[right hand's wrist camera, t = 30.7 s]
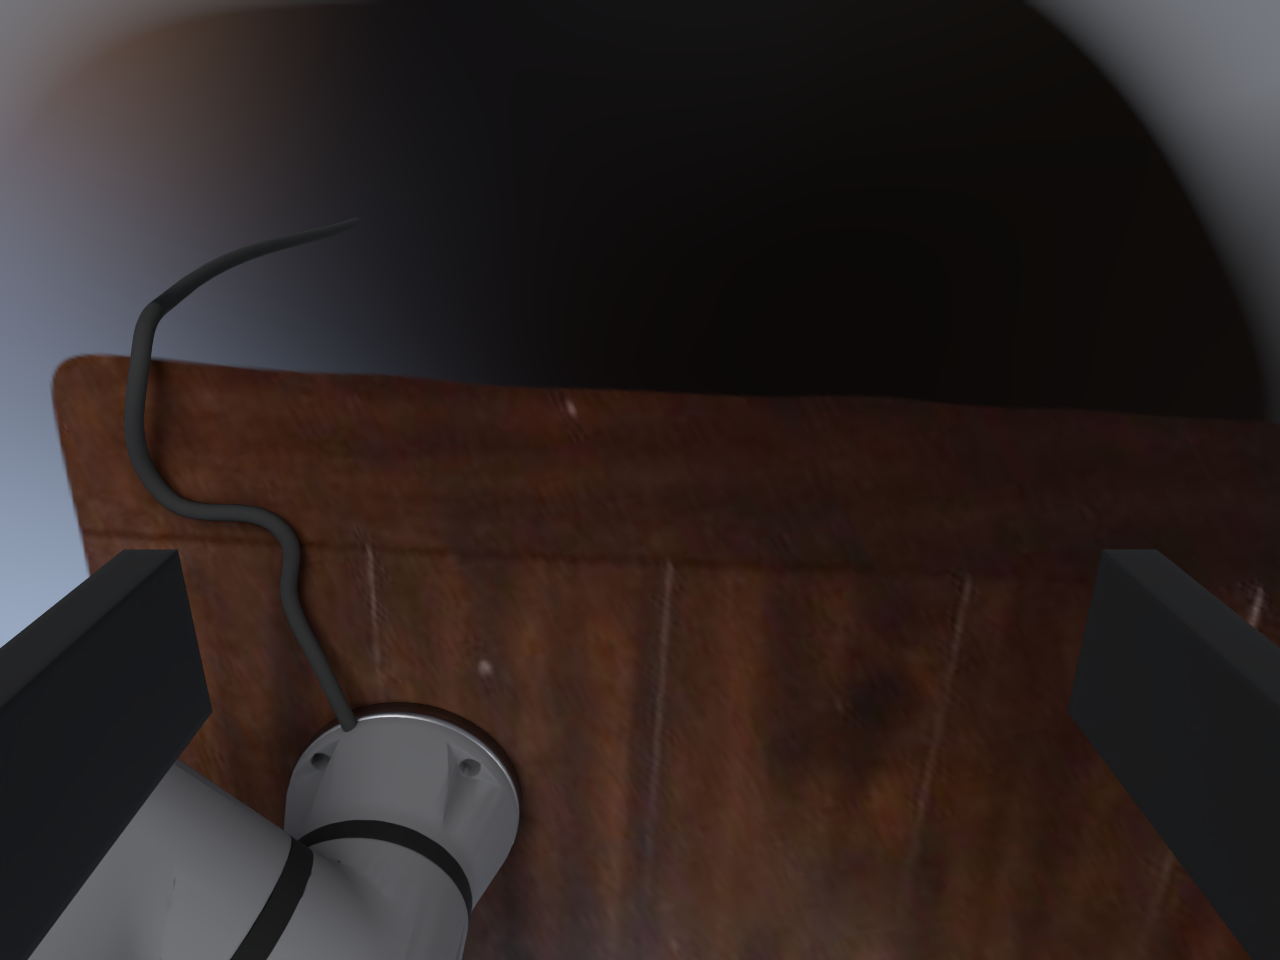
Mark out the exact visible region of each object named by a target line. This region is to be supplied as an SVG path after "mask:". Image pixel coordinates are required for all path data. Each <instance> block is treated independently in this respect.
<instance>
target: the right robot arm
mask: <svg viewBox="0 0 1280 960" xmlns="http://www.w3.org/2000/svg"><path fill="white" fill-rule="evenodd" d="M361 224H362V222H361V220H360V219H359V218H352V219H349V220H346V221H343V222H340V223H336V224H333V225H329V226H325V227H321V228H317V229H312V230H308V231H303V232H299V233H294V234H290V235H285V236H281V237H277V238H273V239H269V240H265V241H262V242H258V243H255V244H252V245H249V246H245V247H242V248H240V249H237V250H235V251H232V252H229V253H227V254H224V255H222V256H220V257H218V258H216V259H214V260H212V261H210V262H208V263H206V264H204V265H203V266H201V267H199V268H198V269H196V270H194V271H193V272H191V273H189V274H188V275H186V276H185V277H183V278H182V279H180V280H179V281H178V282H177V283H175V284H174V285H173V286H171V287H170V288H169V289H167V290H166V291H165V292H163V293H162V294H161V295H160V296H158V297H157V298H155V299H154V300H153V301H152V302H150V303H149V304H148V305H147V306H146V307H145V308H144V309H143V311H142V312H141V314H140V316H139V318H138V321H137V324H136V327H135V331H134V336H133V343H132V350H131V358H130V366H129V373H128V381H127V388H126V397H125V410H124V431H125V441H126V446H127V450H128V454H129V457H130V460H131V463H132V465H133V467H134V469H135V471H136V473H137V475H138V477H139V478H140V480H141V481H142V483H143V484H144V486H145V487H146V489H147V490H148V491H149V492H150V493H151V495H152V496H153V497H154V498H155V499H156V500H157V501H158V502H159V503H160V504H161V505H163V506H164V507H165V508H166V509H168V510H170V511H172V512H174V513H175V514H177V515H181V516H184V517H187V518H192V519H198V520H210V521H241V522H248V523H253V524H256V525H259V526H262V527H263V528H265V529H267V530H269V531H270V532H271V533H272V534H273V535H274V536H275V537H276V538H277V539H278V541H279V542H280V544H281V547H282V550H283V565H282V572H281V580H280V594H281V601H282V605H283V608H284V611H285V614H286V617H287V619H288V622H289V624H290V626H291V628H292V630H293V633H294V635H295V636H296V638H297V640H298V642H299V644H300V646H301V648H302V649H303V651H304V653H305V655H306V657H307V659H308V661H309V662H310V664H311V666H312V668H313V670H314V672H315V674H316V676H317V678H318V680H319V683H320V685H321V687H322V689H323V691H324V693H325V695H326V697H327V699H328V701H329V703H330V705H331V707H332V709H333V711H334V713H335V715H336V717H337V718H336V719H334V720H333V721H331V722H329V723H328V724H327V725H326V726H324V727H323V728H322V729H321V730H320V731H319V732H318V733H317V734H316V735H315V736H314V737H313V738H312V739H311V741H310V742H309V743H308V745H307V747H306V748H305V750H304V752H303V753H302V755H301V757H300V759H299V761H298V763H297V765H296V767H295V769H294V771H293V773H292V776H291V779H290V784H289V787H288V792H287V797H286V808H285V821H284V830H282V829H281V828H279V827H278V826H276V825H275V824H273V823H272V822H270V821H269V820H267V819H266V818H265V817H263V816H262V815H260V814H259V813H257V812H256V811H254V810H253V809H251V808H250V807H248V806H247V805H245V804H244V803H242V802H241V801H239V800H238V799H237V798H235V797H234V796H232V795H231V794H229V793H228V792H226V791H225V790H223V789H222V788H220V787H219V786H217V785H216V784H214V783H213V782H212V781H210V780H209V779H207V778H206V777H204V776H203V775H201V774H200V773H198V772H197V771H195V770H194V769H192V768H191V767H189V766H188V765H187V764H185V763H184V762H182V761H181V760H179V759H178V757H179V756H180V754H181V753H182V752H183V750H184V749H185V748H186V746H187V745H188V744H189V742H190V741H191V740H192V738H193V737H194V736H195V734H196V733H197V732H198V730H199V729H200V728H201V726H202V725H203V724H204V722H205V721H206V720H207V718H208V717H209V715H210V714H211V713H212V707H211V703H210V698H209V693H208V689H207V684H206V680H205V675H204V670H203V666H202V661H201V656H200V652H199V647H198V642H197V638H196V633H195V628H194V624H193V619H192V614H191V610H190V605H189V600H188V596H187V591H186V586H185V582H184V577H183V572H182V568H181V563H180V558H179V554H178V550H123V551H121V552H120V553H119V554H118V555H116V556H115V557H114V558H113V559H111V560H110V561H109V562H108V563H106V564H105V565H104V566H103V567H101V568H100V569H99V570H98V571H96V572H95V573H94V574H93V575H91V576H90V577H89V578H88V579H86V580H85V581H84V582H83V583H81V584H80V585H79V586H78V587H76V588H75V589H74V590H73V591H71V592H70V593H69V594H68V595H66V596H65V597H64V598H63V599H61V600H60V601H59V602H58V603H56V604H55V605H54V606H53V607H51V608H50V609H49V610H48V611H46V612H45V613H44V614H43V615H41V616H40V617H39V618H38V619H36V620H35V621H34V622H33V623H31V624H30V625H29V626H28V627H26V628H25V629H24V630H23V631H21V632H20V633H19V634H18V635H16V636H15V637H14V638H13V639H11V640H10V641H9V642H8V643H6V644H5V645H4V646H2V647H1V648H0V960H462V955H463V950H464V946H465V941H466V936H467V931H468V926H469V922H470V917H471V913H472V910H473V908H474V907H475V905H476V904H477V902H478V901H479V899H480V898H481V896H482V895H483V893H484V892H485V890H486V889H487V887H488V886H489V884H490V883H491V881H492V879H493V878H494V876H495V875H496V873H497V872H498V870H499V869H500V867H501V866H502V864H503V863H504V861H505V860H506V858H507V856H508V854H509V852H510V849H511V847H512V845H513V843H514V840H515V837H516V834H517V829H518V824H519V818H520V812H521V802H522V800H521V789H520V784H519V780H518V777H517V774H516V772H515V770H514V767H513V765H512V763H511V762H510V760H509V758H508V757H507V755H506V754H505V753H504V751H503V750H502V749H501V747H500V746H499V745H498V744H497V743H496V742H495V741H494V740H493V739H492V738H491V737H490V736H489V735H488V734H487V733H485V732H484V731H483V730H481V729H480V728H479V727H477V726H476V725H474V724H473V723H471V722H469V721H467V720H466V719H464V718H462V717H460V716H458V715H455V714H453V713H451V712H448V711H445V710H442V709H439V708H435V707H431V706H427V705H421V704H415V703H380V704H375V705H369V706H365V707H361V708H358V709H355V710H353V711H352V709H351V707H350V705H349V703H348V701H347V699H346V697H345V695H344V693H343V691H342V689H341V687H340V685H339V683H338V681H337V679H336V677H335V675H334V672H333V670H332V668H331V666H330V664H329V662H328V660H327V658H326V656H325V654H324V652H323V650H322V649H321V647H320V645H319V643H318V641H317V639H316V637H315V636H314V634H313V632H312V630H311V628H310V626H309V624H308V622H307V620H306V618H305V615H304V613H303V610H302V607H301V605H300V602H299V598H298V594H297V579H298V572H299V565H300V546H299V542H298V539H297V537H296V535H295V533H294V531H293V530H292V529H291V527H290V526H289V525H288V524H287V523H286V522H285V521H284V520H282V519H281V518H280V517H279V516H277V515H275V514H274V513H272V512H270V511H268V510H265V509H262V508H259V507H254V506H248V505H235V504H205V503H198V502H193V501H190V500H187V499H184V498H182V497H181V496H179V495H177V494H176V493H175V492H174V491H173V490H172V489H170V487H169V486H168V485H167V484H166V482H165V481H164V480H163V479H162V477H161V476H160V474H159V473H158V471H157V470H156V468H155V466H154V464H153V462H152V460H151V458H150V455H149V452H148V449H147V445H146V440H145V431H144V409H145V398H146V390H147V382H148V375H149V367H150V360H151V352H152V344H153V338H154V334H155V330H156V328H157V325H158V323H159V322H160V320H161V319H162V318H163V316H164V315H165V314H167V313H168V312H169V311H170V310H171V309H173V308H174V307H175V306H176V305H178V304H179V303H180V302H181V301H182V300H184V299H185V298H186V297H187V296H188V295H190V294H191V293H192V292H193V291H195V290H196V289H197V288H198V287H200V286H201V285H203V284H204V283H206V282H207V281H209V280H210V279H212V278H213V277H215V276H217V275H219V274H221V273H223V272H225V271H227V270H229V269H231V268H233V267H235V266H237V265H240V264H242V263H244V262H247V261H249V260H252V259H255V258H258V257H261V256H264V255H267V254H270V253H273V252H277V251H280V250H284V249H287V248H291V247H295V246H299V245H303V244H306V243H310V242H314V241H318V240H322V239H325V238H329V237H332V236H336V235H339V234H342V233H345V232H348V231H350V230H353V229H356V228H358V227H360V226H361ZM1068 713H1069V714H1070V715H1071V717H1072V718H1073V720H1074V721H1075V722H1076V724H1077V725H1078V726H1079V728H1080V729H1081V730H1082V732H1083V733H1084V734H1085V736H1086V737H1087V738H1088V740H1089V741H1090V742H1091V744H1092V745H1093V746H1094V748H1095V749H1096V750H1097V752H1098V753H1099V754H1100V756H1101V757H1102V759H1103V760H1104V761H1105V763H1106V764H1107V765H1108V767H1109V768H1110V769H1111V771H1112V772H1113V773H1114V775H1115V776H1116V777H1117V779H1118V780H1119V781H1120V783H1121V784H1122V785H1123V787H1124V788H1125V789H1126V791H1127V792H1128V793H1129V795H1130V796H1131V797H1132V799H1133V800H1134V802H1135V803H1136V804H1137V806H1138V807H1139V808H1140V810H1141V811H1142V812H1143V814H1144V815H1145V816H1146V818H1147V819H1148V820H1149V822H1150V823H1151V824H1152V826H1153V827H1154V828H1155V830H1156V831H1157V832H1158V834H1159V835H1160V836H1161V838H1162V839H1163V840H1164V842H1165V843H1166V845H1167V846H1168V847H1169V849H1170V850H1171V851H1172V853H1173V854H1174V855H1175V857H1176V858H1177V859H1178V861H1179V862H1180V863H1181V865H1182V866H1183V867H1184V869H1185V870H1186V871H1187V873H1188V874H1189V875H1190V877H1191V878H1192V879H1193V881H1194V882H1195V884H1196V885H1197V886H1198V888H1199V889H1200V890H1201V892H1202V893H1203V894H1204V896H1205V897H1206V898H1207V900H1208V901H1209V902H1210V904H1211V905H1212V906H1213V908H1214V909H1215V910H1216V912H1217V913H1218V914H1219V916H1220V917H1221V918H1222V920H1223V921H1224V922H1225V924H1226V925H1227V927H1228V928H1229V929H1230V931H1231V932H1232V933H1233V935H1234V936H1235V937H1236V939H1237V940H1238V941H1239V943H1240V944H1241V945H1242V947H1243V948H1244V949H1245V951H1246V952H1247V953H1248V955H1249V956H1250V957H1251V959H1252V960H1280V648H1279V647H1278V646H1276V645H1275V644H1274V643H1273V642H1271V641H1270V640H1269V639H1267V638H1266V637H1265V636H1264V635H1262V634H1261V633H1260V632H1259V631H1257V630H1256V629H1255V628H1254V627H1252V626H1251V625H1250V624H1249V623H1247V622H1246V621H1245V620H1244V619H1242V618H1241V617H1240V616H1239V615H1237V614H1236V613H1235V612H1234V611H1232V610H1231V609H1230V608H1229V607H1227V606H1226V605H1225V604H1224V603H1222V602H1221V601H1220V600H1219V599H1217V598H1216V597H1215V596H1214V595H1212V594H1211V593H1210V592H1209V591H1207V590H1206V589H1205V588H1204V587H1202V586H1201V585H1200V584H1199V583H1197V582H1196V581H1195V580H1194V579H1192V578H1191V577H1190V576H1189V575H1187V574H1186V573H1185V572H1184V571H1182V570H1181V569H1180V568H1179V567H1177V566H1176V565H1175V564H1174V563H1172V562H1171V561H1170V560H1169V559H1167V558H1166V557H1165V556H1164V555H1162V554H1161V553H1160V552H1159V551H1157V550H1102V554H1101V558H1100V563H1099V568H1098V572H1097V577H1096V582H1095V586H1094V591H1093V596H1092V600H1091V605H1090V610H1089V614H1088V619H1087V624H1086V628H1085V633H1084V638H1083V642H1082V647H1081V652H1080V656H1079V661H1078V666H1077V670H1076V675H1075V680H1074V684H1073V689H1072V693H1071V698H1070V703H1069V707H1068Z"/></svg>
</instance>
